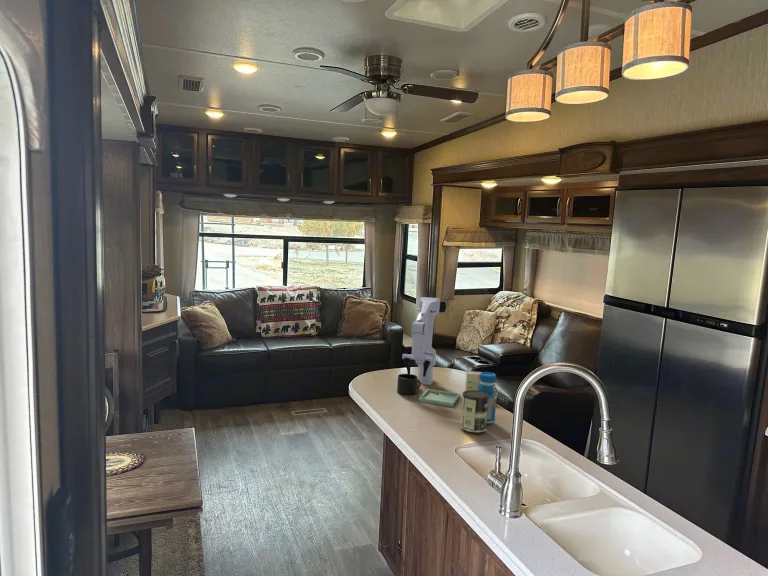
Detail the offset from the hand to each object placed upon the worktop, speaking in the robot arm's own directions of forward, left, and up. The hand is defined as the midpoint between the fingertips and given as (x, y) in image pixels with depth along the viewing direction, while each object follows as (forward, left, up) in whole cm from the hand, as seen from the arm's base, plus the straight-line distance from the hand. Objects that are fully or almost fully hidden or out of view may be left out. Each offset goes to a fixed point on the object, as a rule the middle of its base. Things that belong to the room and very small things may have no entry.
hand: (416, 375), depth 244 cm
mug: (-2, -4, -11) cm, 11 cm away
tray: (-1, +12, -10) cm, 16 cm away
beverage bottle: (+17, +36, -11) cm, 41 cm away
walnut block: (-8, -3, -11) cm, 13 cm away
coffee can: (+28, +33, -11) cm, 44 cm away
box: (-14, +27, -11) cm, 32 cm away
